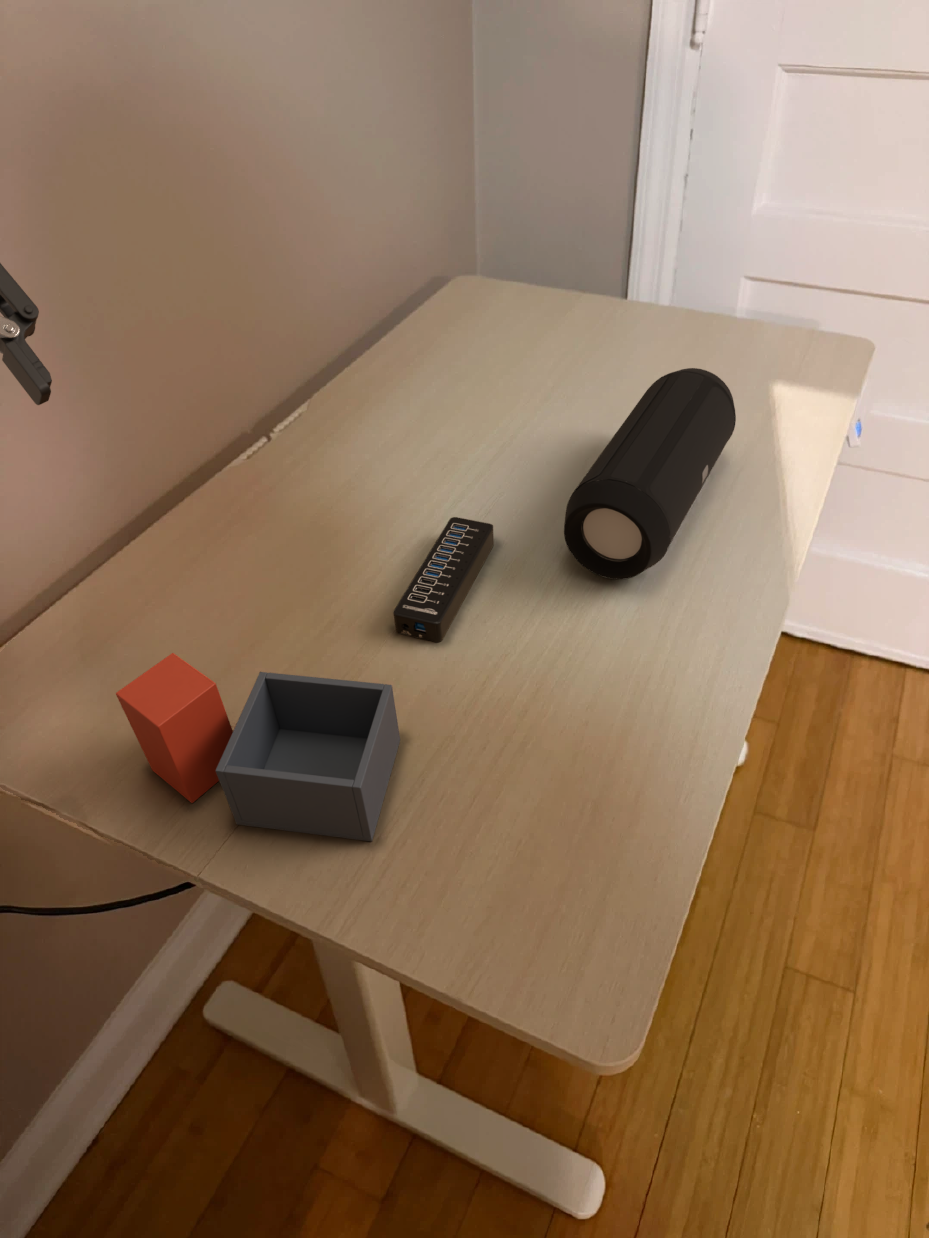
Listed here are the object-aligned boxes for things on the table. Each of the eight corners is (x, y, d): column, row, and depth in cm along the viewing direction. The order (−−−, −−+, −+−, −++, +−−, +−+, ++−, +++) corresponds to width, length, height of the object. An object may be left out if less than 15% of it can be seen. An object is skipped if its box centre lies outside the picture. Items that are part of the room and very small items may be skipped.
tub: (236, 824, 65) (214, 770, 60) (276, 726, 71) (259, 671, 67) (372, 841, 63) (360, 787, 59) (400, 739, 70) (392, 684, 65)
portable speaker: (654, 601, 80) (667, 511, 73) (552, 570, 83) (555, 482, 76) (733, 455, 96) (750, 370, 89) (645, 434, 99) (654, 351, 92)
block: (151, 770, 68) (114, 693, 62) (203, 729, 71) (172, 651, 65) (192, 803, 66) (157, 726, 60) (243, 760, 69) (216, 682, 63)
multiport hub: (495, 542, 87) (494, 523, 85) (440, 643, 77) (438, 624, 75) (452, 534, 88) (451, 515, 86) (394, 632, 78) (391, 613, 77)
